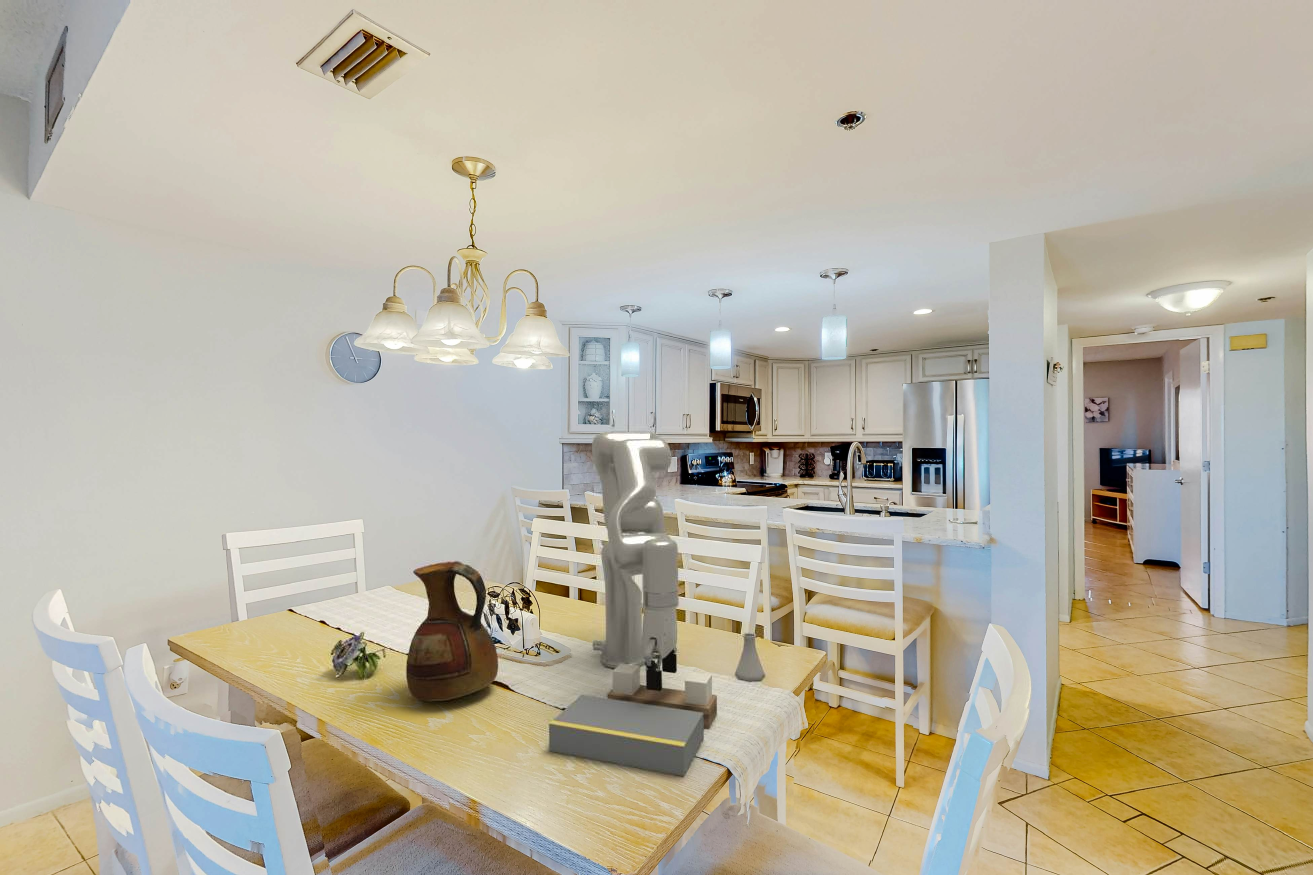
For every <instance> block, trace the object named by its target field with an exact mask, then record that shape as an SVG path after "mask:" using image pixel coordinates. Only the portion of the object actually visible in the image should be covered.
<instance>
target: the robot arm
mask: <svg viewBox="0 0 1313 875" xmlns="http://www.w3.org/2000/svg"><path fill="white" fill-rule="evenodd" d="M591 454H592V460H593V464H594V467H595V470H596V472H597V475H598V478H599V481H600V484H601V493H602V495H601V496H602V505H603V506H602V509H603V519H604V524H605V528H606V530H607V538H608V539H607V540H608V541H607V542H606V543H605V544H604V545H603V546H602V548H601V554H600V555H601V557H600V558H601V565H602V571H603V576H604V577H603V578H604V596H605V597H604V598H605V604H604V605H605V606H604V607H605V640H604V641H601V640H598V639H597V640H596V639H595V640H593V642H592V650H593V651H597V652H599V651H600V652H601V655H600V656H599V661H600V664H602V665H603V666H605V667H607V668H611V669H615V668H616V667H617V666H619V665H620V664H629V665H637V666H640V667H641V666H643V665H645V681H646V682H645V685H646V688H647V689H648V690H654V691H661V690H662V688H663V673H671V674H676V673H677V671H678V665H677V662H678V661H677V653H678V652H677V650H678V649H677V643H678V620H677V619H678V618H677V608H678V607H679V604H680V602H679V555H678V552H679V551H678V550H679V549H678V548H679V547H678V543H677V542H676V540H674V539H672V538H671V537H670V535H668V534H667V533H666V523H665V514H664V510H663V506H662V505H661V502H660V501H659V499H658V498H655V496H656V493H657V492H656V486H655V482H654V477H653V474H652V473H657V472H659V473H661V472H663V473H664V472H666V471H668V470H669V468H670V467H671V465H672V452H671V448H670V446H669V444H668V442H667V440H665V439H664V438H663V437H662V436H660V435H659V434H657V433H655V432H653V431H640V430H639V431H637V430H636V431H619V430H618V431H614V430H613V431H605V432H601V433H598V434H597V435H596V436H594V437H593V440H592V443H591ZM637 575H642V590H641V588H640V586H639V585H638V584H637V583H636V582H635V581H634V579H633V578H632V577H634V576H637ZM643 608H644V610H643ZM655 660H657V661H655Z"/></svg>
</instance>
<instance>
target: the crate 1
mask: <svg viewBox="0 0 1313 875" xmlns="http://www.w3.org/2000/svg"><path fill="white" fill-rule="evenodd" d="M640 667H641V666H637V665H629V664H620V665H619V666H617V667H616V668H613V670H612V671H611V672H612V679H611V680H612V689H613V693H619V694H626V695H633V694H634V693H635V692H636V691H637V690H638V689H639V687H640V685H641V668H640Z"/></svg>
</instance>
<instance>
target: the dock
mask: <svg viewBox="0 0 1313 875" xmlns="http://www.w3.org/2000/svg"><path fill="white" fill-rule="evenodd" d="M704 729H705V728H704V718H703V713H702V712H695V711H688V710H681V709H675V708H668V707H661V706H654V705H648V704H641V703H634V702H627V701H621V700H614V699H608V697H599V696H593V695H588V694H587V695H585V694H580V695H579V696H578V697H577V698H576V699H575V700H574V701H572V703H570V704H569V705H568V706H567V707H566V708H565V709H564V710H563V711H561V712H560V713H559V714H558V715H557V716H556V717H554V719H552V720H551V721H550V722H549V723H548V735H549V736H548V738H549V739H548V746H549V747H548V748H549V749H548V750H549V752H553V753H558V754H564V755H569V756H575V757H580V758H585V759H590V760H594V761H595V760H596V761H600V762H606V763H612V764H616V765H623V766H627V767H632V768H639V769H641V770H642V769H643V770H648V771H654V772H658V773H664V774H670V775H675V776H678V777H679V776H680V777H685V776H686V774H687V772H688V770H689V768H690V766H691V764H692V762H693V761H694V759H695V757H696V755H697V753H698V751H699V749H700V748H701V745H702V743H703V742H704V738H705V735H704V733H705V732H704Z"/></svg>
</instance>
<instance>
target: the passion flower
mask: <svg viewBox="0 0 1313 875" xmlns="http://www.w3.org/2000/svg"><path fill="white" fill-rule="evenodd" d="M364 636H365V631H360V633H359V635H354V636H351V637H349V638H348V639H346V640H345V641H343V640H342V639H339V641H337V643H335V645H334V647H333V648H332V649H331V652H330V655H331V656H332V658H331V659H332V660H331V662H332V664H333V665H332V668H334V670H335V672H337V673H336V675H339V677H342V675H344V674H345V673H346V671H347V669H348V667H351V666H352V665H354V666H355V667H356V668H357V672H358V677H359V678H360V679H361V678H365V679H366V675H367V671H368V666H369V670H370V675H373V674H374V672H375V670H377V669H378V666H379V661H380V660H381V657H380V655H379V654H377V652H382V653H383V658H386V656H387V655H386V648H381V649H380V650H377V651H375V652H369V653H367V649H366V647H367V646H368V642H367V641H362V640H363V639H364ZM378 660H379V661H378ZM367 664H368V665H367ZM336 675H335V676H336Z"/></svg>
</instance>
